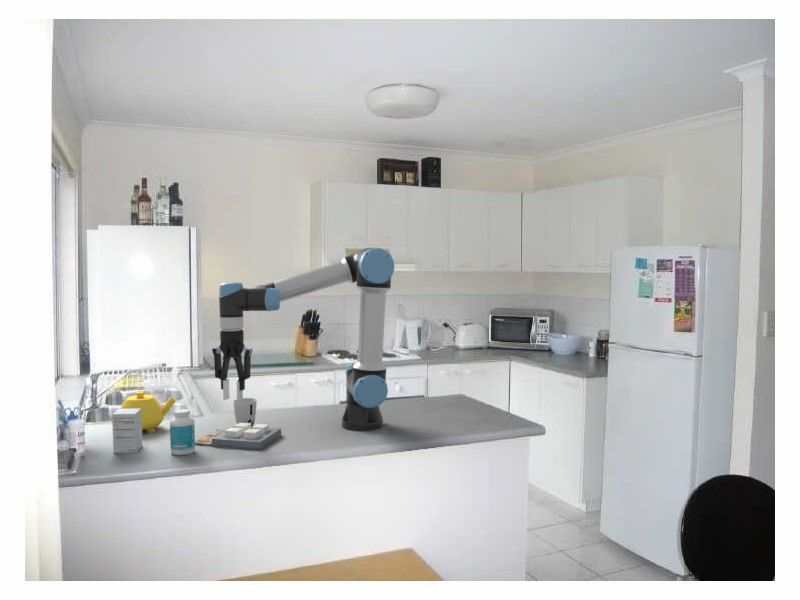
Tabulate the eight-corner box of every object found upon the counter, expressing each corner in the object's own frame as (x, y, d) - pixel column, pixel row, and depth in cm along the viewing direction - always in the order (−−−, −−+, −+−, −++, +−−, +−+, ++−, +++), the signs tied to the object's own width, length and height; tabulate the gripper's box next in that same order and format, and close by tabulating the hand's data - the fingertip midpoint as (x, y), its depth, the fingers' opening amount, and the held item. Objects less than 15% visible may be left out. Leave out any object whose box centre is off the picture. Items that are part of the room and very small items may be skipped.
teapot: (175, 421, 258) (174, 385, 257) (178, 432, 244) (177, 393, 243) (117, 426, 251) (116, 389, 250) (117, 438, 237) (115, 398, 236)
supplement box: (119, 446, 227) (118, 408, 226) (143, 445, 227) (142, 407, 226) (112, 453, 219) (111, 413, 218) (136, 452, 220) (135, 413, 219)
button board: (281, 435, 240) (281, 428, 239) (260, 449, 223) (260, 442, 223) (235, 432, 243) (235, 425, 243) (212, 446, 227) (211, 438, 227)
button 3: (260, 437, 231) (260, 429, 231) (255, 440, 227) (255, 432, 226) (249, 436, 232) (249, 428, 231) (243, 439, 228) (243, 432, 227)
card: (233, 432, 244) (233, 430, 244) (209, 446, 227) (209, 443, 227) (217, 431, 245) (217, 429, 245) (192, 444, 229) (192, 442, 229)
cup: (251, 431, 245) (250, 403, 244) (230, 430, 247) (229, 402, 246) (260, 425, 253) (260, 398, 252) (239, 424, 254) (239, 397, 254)
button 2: (251, 430, 239) (251, 423, 238) (245, 434, 235) (245, 426, 234) (239, 430, 240) (239, 422, 239) (234, 433, 236) (234, 425, 235)
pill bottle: (198, 453, 219) (197, 411, 218) (174, 457, 215) (173, 414, 214) (191, 447, 225) (190, 406, 224) (167, 451, 221) (166, 409, 220)
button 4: (268, 432, 237) (268, 424, 237) (263, 435, 233) (263, 427, 233) (257, 431, 238) (257, 423, 238) (252, 434, 234) (252, 426, 234)
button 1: (242, 435, 232) (242, 428, 232) (236, 439, 228) (236, 431, 228) (231, 435, 233) (230, 427, 233) (225, 438, 229) (224, 430, 229)
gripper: (260, 328, 229) (262, 398, 231) (213, 327, 233) (215, 395, 235) (250, 331, 222) (252, 403, 224) (202, 330, 226) (203, 400, 228)
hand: (233, 399), depth 230 cm, fingers open, 4 cm apart
